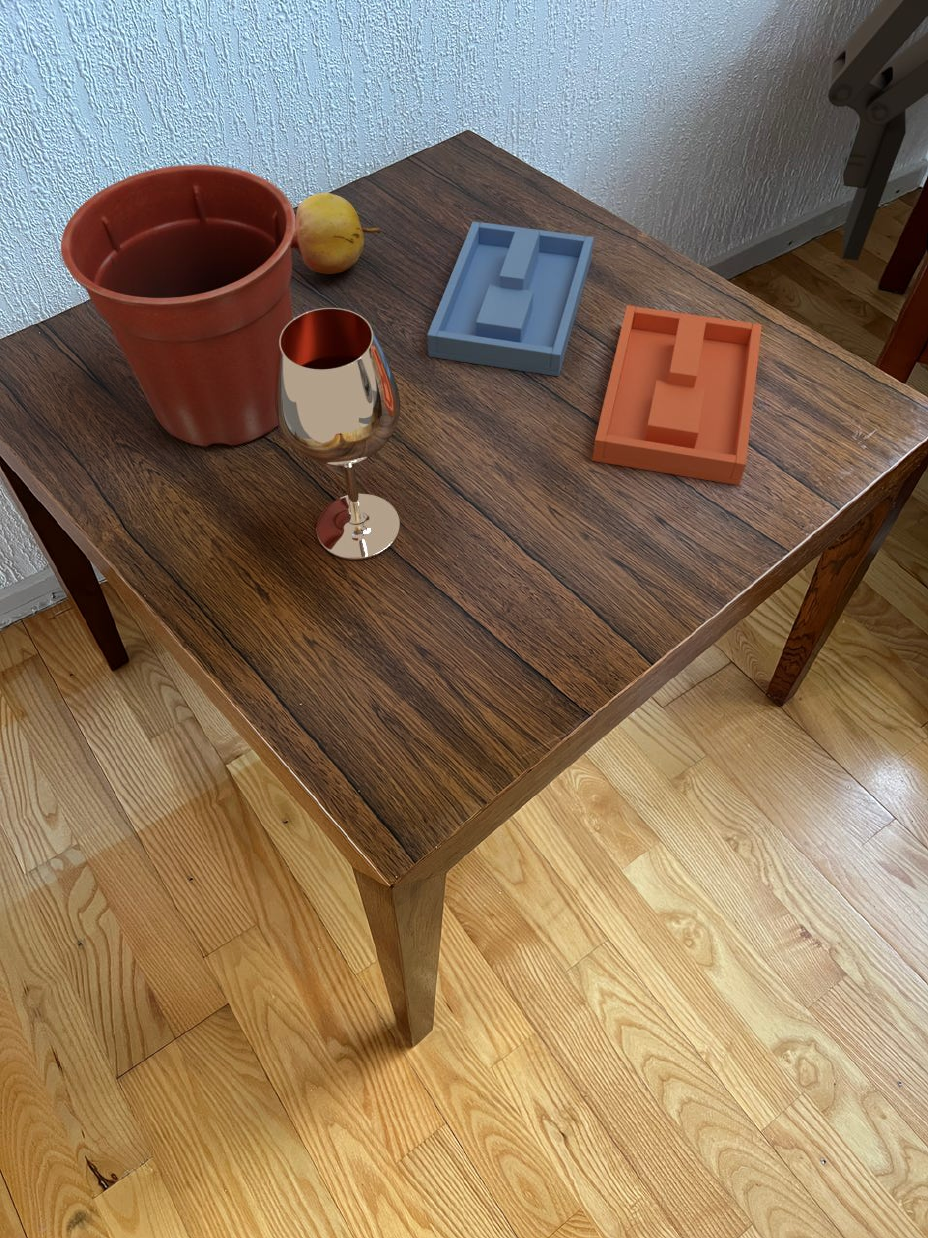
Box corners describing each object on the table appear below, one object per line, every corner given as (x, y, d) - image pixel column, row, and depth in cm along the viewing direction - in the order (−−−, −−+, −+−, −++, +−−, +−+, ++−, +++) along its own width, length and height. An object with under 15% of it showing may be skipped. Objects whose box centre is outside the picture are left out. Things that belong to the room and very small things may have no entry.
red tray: (755, 346, 84) (762, 323, 82) (739, 485, 75) (746, 464, 73) (623, 326, 85) (626, 304, 83) (592, 461, 77) (595, 439, 75)
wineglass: (291, 506, 74) (242, 316, 60) (389, 474, 76) (366, 281, 61) (325, 584, 70) (281, 400, 55) (428, 548, 72) (413, 360, 57)
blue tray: (591, 259, 91) (594, 236, 89) (558, 376, 82) (560, 354, 80) (472, 243, 93) (472, 220, 91) (428, 356, 84) (426, 334, 82)
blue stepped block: (506, 256, 90) (506, 225, 88) (547, 261, 90) (549, 231, 87) (475, 340, 84) (475, 310, 81) (520, 347, 83) (521, 316, 81)
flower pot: (330, 330, 86) (302, 158, 73) (320, 466, 77) (286, 298, 63) (146, 336, 86) (84, 166, 73) (115, 473, 77) (37, 306, 63)
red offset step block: (663, 343, 83) (669, 312, 81) (710, 349, 83) (717, 319, 80) (643, 442, 77) (649, 413, 74) (694, 450, 76) (701, 421, 73)
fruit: (371, 176, 89) (263, 190, 88) (382, 200, 84) (268, 215, 83) (379, 249, 94) (277, 264, 93) (391, 276, 89) (283, 292, 87)
